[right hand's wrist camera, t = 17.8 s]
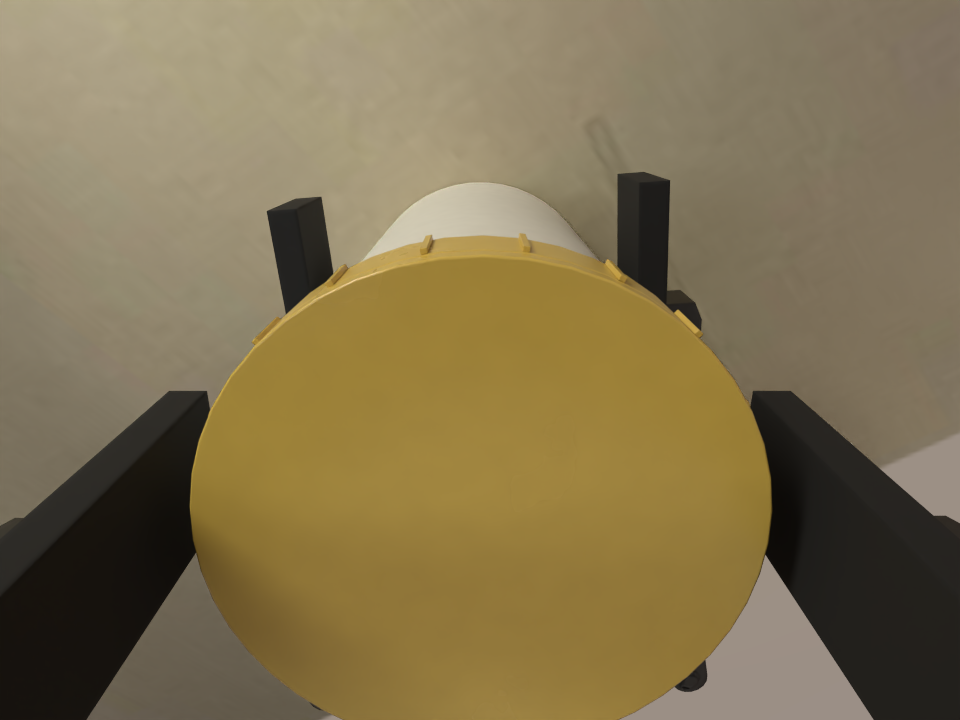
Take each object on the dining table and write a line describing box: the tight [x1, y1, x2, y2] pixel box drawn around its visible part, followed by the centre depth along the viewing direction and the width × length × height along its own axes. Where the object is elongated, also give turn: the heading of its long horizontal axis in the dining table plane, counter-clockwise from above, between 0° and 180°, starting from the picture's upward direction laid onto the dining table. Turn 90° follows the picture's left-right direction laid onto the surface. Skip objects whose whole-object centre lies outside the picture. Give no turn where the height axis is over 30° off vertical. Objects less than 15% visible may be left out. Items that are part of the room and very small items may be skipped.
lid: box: [190, 233, 772, 720], centre depth 11 cm, size 9×9×2 cm
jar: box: [361, 182, 599, 262], centre depth 18 cm, size 9×9×15 cm
